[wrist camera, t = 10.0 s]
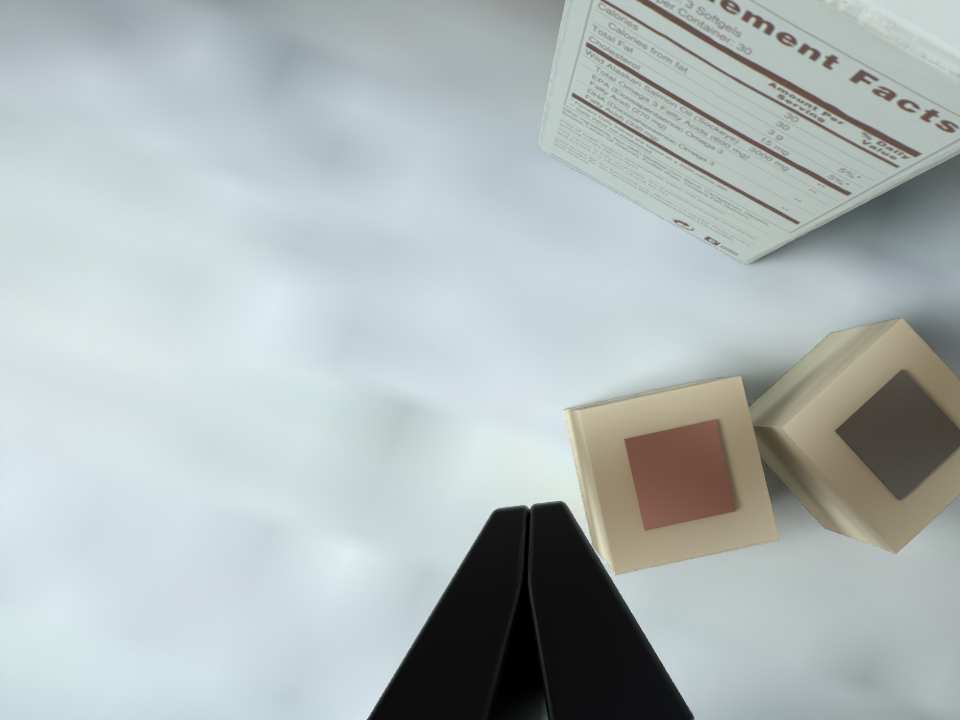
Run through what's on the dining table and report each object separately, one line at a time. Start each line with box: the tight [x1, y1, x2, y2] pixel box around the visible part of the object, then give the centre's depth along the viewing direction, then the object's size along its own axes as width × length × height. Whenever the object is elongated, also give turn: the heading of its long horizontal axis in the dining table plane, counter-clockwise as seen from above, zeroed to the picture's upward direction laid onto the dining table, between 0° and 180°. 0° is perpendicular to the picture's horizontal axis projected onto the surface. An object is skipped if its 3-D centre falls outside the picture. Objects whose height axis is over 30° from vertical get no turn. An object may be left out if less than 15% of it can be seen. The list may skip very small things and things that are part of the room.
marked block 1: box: [563, 376, 779, 575], centre depth 21 cm, size 4×4×4 cm
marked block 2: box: [749, 318, 960, 554], centre depth 21 cm, size 4×4×4 cm
